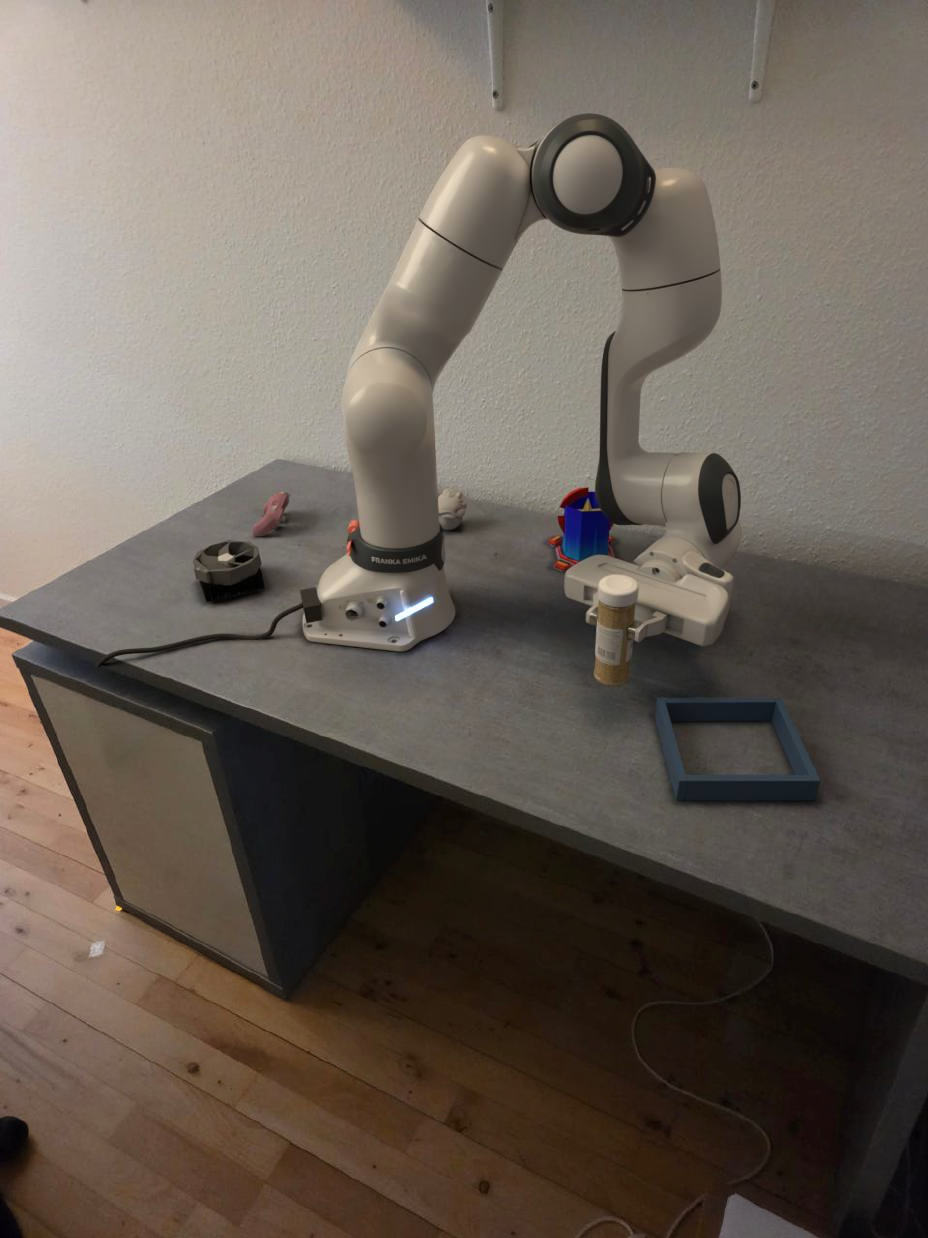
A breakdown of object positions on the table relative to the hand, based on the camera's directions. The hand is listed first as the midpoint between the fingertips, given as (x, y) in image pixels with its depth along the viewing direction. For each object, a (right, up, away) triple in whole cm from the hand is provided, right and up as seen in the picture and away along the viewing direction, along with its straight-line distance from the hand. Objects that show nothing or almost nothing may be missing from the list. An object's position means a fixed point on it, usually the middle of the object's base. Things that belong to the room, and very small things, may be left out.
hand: (612, 627), depth 92 cm
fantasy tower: (+3, +12, +39) cm, 41 cm away
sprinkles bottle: (+1, -6, +5) cm, 8 cm away
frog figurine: (-20, +17, +48) cm, 55 cm away
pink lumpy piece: (-52, +18, +51) cm, 75 cm away
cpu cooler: (-54, +6, +34) cm, 65 cm away
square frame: (+13, -15, -1) cm, 20 cm away
